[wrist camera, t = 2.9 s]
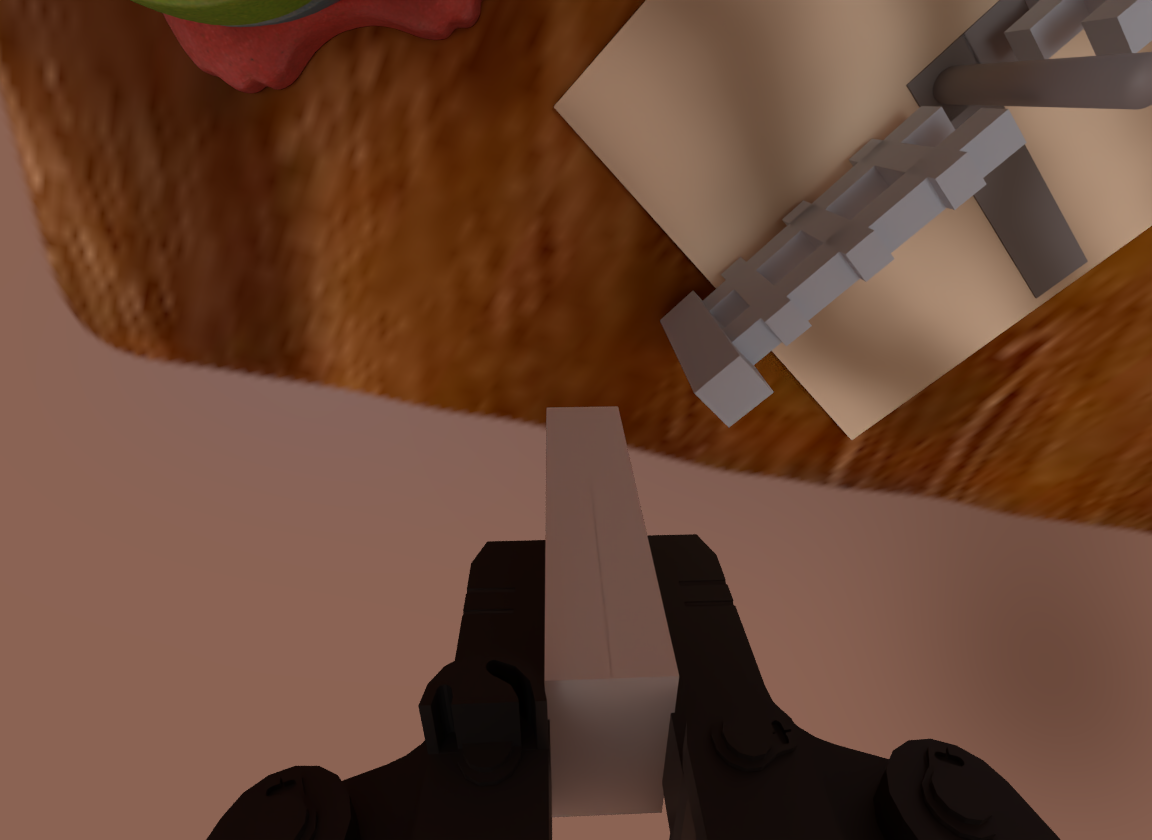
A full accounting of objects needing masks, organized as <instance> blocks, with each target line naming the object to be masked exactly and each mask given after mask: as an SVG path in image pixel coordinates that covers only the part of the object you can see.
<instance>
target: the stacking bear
mask: <svg viewBox="0 0 1152 840" xmlns="http://www.w3.org/2000/svg"><path fill="white" fill-rule="evenodd" d="M131 1H133V2H135V3H138V4H140V5H143V6H146V7H148V8H151V9H153V10H156V11H158V12H161V13H163V15H164V17H165V19H166V21H167V22H168V24H169V26H170V28H171V29H172V31H173V33H174V34H175V36H176V38H177V39H178V41H179V43H180V44H181V46H182V48H183V49H184V51H185V52H186V53H187V54H188V56H189V57H190V58H191V59H192V61H193V62H194V63H195V64H196V65H197V66H198V67H199V68H200V69H201V70H202V71H204V72H206V73H208V74H210V75H214V76H218V77H220V78H221V79H222V80H224V81H225V82H226V83H227V84H229V85H230V86H232V87H233V88H235V89H237V90H238V91H242V92H245V93H256V92H259V91H261V90H262V89H264V88H265V87H267V86H268V87H271V88H273V89H283V88H286V87H287V86H289V85H291V84H292V83H293V82H294V81H295V80H296V79H297V78H298V77H299V75H300V73H301V72H302V70H303V69H304V67H305V66H306V64H307V63H308V61H309V60H310V59H311V57H312V56H313V54H314V53H315V52H316V51H317V50H318V49H319V48H320V47H321V46H322V45H323V44H324V43H325V42H327V41H328V40H330V39H331V38H332V37H334V36H336V35H337V34H340V33H342V32H344V31H347V30H351V29H354V28H359V27H365V26H385V27H390V28H395V29H398V30H401V31H404V32H407V33H409V34H412V35H414V36H417V37H421V38H425V39H431V40H441V39H446V38H447V37H448V36H450V35H451V33H452V32H453V31H454V30H455V29H457V28H469V27H471V26H473V25H474V24H475V23H476V21H477V19H478V18H479V15H480V11H481V2H482V0H131Z"/></svg>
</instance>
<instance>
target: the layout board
mask: <svg viewBox="0 0 1152 840" xmlns="http://www.w3.org/2000/svg"><path fill="white" fill-rule="evenodd" d="M1027 11H1029V8H1028V6H1027V4H1026V2H1025V0H646V1H645V2H644V3H643V4H642V5H641V6H640V8H639V9H638V10H637V11H636V12H635V13H634V14H633V16H632V17H631V18H630V19H629V20H628V21H627V23H626V24H625V25H624V26H623V27H622V28H621V29H620V31H619V32H618V33H617V34H616V35H615V36H614V37H613V39H612V40H611V41H610V42H609V43H608V44H607V46H606V47H605V48H604V49H603V50H602V51H601V52H600V54H599V55H598V56H597V57H596V58H595V59H594V61H593V62H592V63H591V64H590V65H589V66H588V67H587V69H586V70H585V71H584V72H583V73H582V74H581V75H580V77H579V78H578V79H577V80H576V81H575V82H574V84H573V85H572V86H571V87H570V88H569V89H568V90H567V92H566V93H565V94H564V95H563V96H562V97H561V99H560V100H559V101H558V102H557V103H556V104H555V105H554V108H555V109H556V110H557V111H558V113H559V114H560V115H561V116H562V117H563V118H564V119H565V120H566V121H567V123H568V124H569V125H570V126H571V127H572V128H573V129H574V130H575V132H576V133H577V134H578V135H579V136H580V137H581V138H582V139H583V140H584V142H585V143H586V144H587V145H588V146H589V147H590V148H591V149H592V151H593V152H594V153H595V154H596V155H597V156H598V157H599V158H600V159H601V161H602V162H603V163H604V164H605V165H606V166H607V167H608V168H609V170H610V171H611V172H612V173H613V174H614V175H615V176H616V177H617V179H618V180H619V181H620V182H621V183H622V184H623V185H624V186H625V187H626V189H627V190H628V191H629V192H630V193H631V194H632V195H633V196H634V198H635V199H636V200H637V201H638V202H639V203H640V204H641V205H642V206H643V208H644V209H645V210H646V211H647V212H648V213H649V214H650V215H651V217H652V218H653V219H654V220H655V221H656V222H657V223H658V224H659V225H660V227H661V228H662V229H663V230H664V231H665V232H666V233H667V234H668V236H669V237H670V238H671V239H672V240H673V241H674V242H675V243H676V244H677V246H678V247H679V248H680V249H681V250H682V251H683V252H684V253H685V255H686V256H687V257H688V258H689V259H690V260H691V261H692V262H693V263H694V265H695V266H696V267H697V268H698V269H699V270H700V271H701V272H702V274H703V275H704V276H705V277H706V278H707V279H708V280H709V281H710V282H711V284H712V285H713V286H714V287H715V288H716V289H717V288H718V287H719V286H720V285H721V284H722V283H723V282H724V281H725V279H724V278H723V277H722V275H721V274H722V273H723V272H724V271H725V270H726V269H728V268H729V267H730V266H731V265H732V264H733V263H734V262H735V261H736V260H738V259H739V258H740V257H741V258H743V259H744V260H745V261H746V262H747V261H748V260H749V259H750V258H751V257H752V256H754V255H755V254H756V253H757V252H758V251H759V250H760V249H761V248H763V247H764V246H765V245H766V244H767V243H768V242H769V241H770V240H772V239H773V238H774V237H775V236H776V235H777V234H778V233H779V232H780V231H782V230H783V229H784V228H785V227H786V226H787V225H786V224H785V223H784V222H783V220H782V219H783V218H784V217H785V216H787V215H788V214H789V213H790V212H791V211H792V210H793V209H794V208H795V207H797V206H798V205H799V204H800V203H801V202H802V201H803V200H804V201H806V202H809V203H811V204H812V203H813V202H814V201H815V200H816V199H818V198H819V197H820V196H821V195H822V194H823V193H824V192H825V191H826V190H828V189H829V188H830V187H831V186H832V185H833V184H834V183H835V182H837V181H838V180H839V179H840V178H841V177H842V176H843V175H844V174H846V173H847V172H848V171H849V170H850V169H851V168H852V167H853V165H852V164H851V163H850V161H849V159H850V158H851V157H852V156H853V155H854V154H856V153H857V152H858V151H859V150H860V149H861V148H862V147H863V146H864V145H866V144H867V143H868V142H869V141H870V140H871V139H879V140H884V139H885V138H886V137H887V136H888V135H889V134H890V133H892V132H893V131H894V130H895V129H896V128H897V127H898V126H899V125H901V124H902V123H903V122H904V121H905V120H906V119H907V118H908V117H910V116H911V115H912V114H913V113H914V112H915V111H916V110H917V109H919V108H920V107H921V106H936V107H942V108H943V110H944V112H945V113H946V115H947V117H948V118H949V120H950V122H951V123H952V125H953V127H954V129H955V130H956V129H957V128H958V127H959V126H961V125H962V124H963V123H964V122H965V121H966V120H968V119H969V118H970V117H971V116H972V115H973V114H975V113H976V112H977V111H978V110H979V109H980V108H996V109H1009V111H1010V113H1011V114H1012V116H1013V118H1014V120H1015V122H1016V124H1017V126H1018V127H1019V129H1020V131H1021V133H1022V135H1023V137H1024V139H1025V140H1026V142H1027V143H1026V144H1024V145H1023V146H1022V147H1021V148H1019V149H1018V150H1017V151H1016V152H1015V153H1013V154H1012V155H1011V156H1010V157H1008V158H1007V159H1006V160H1005V161H1003V162H1002V163H1001V164H1000V165H999V166H997V167H996V168H995V169H994V170H992V171H991V172H990V173H989V174H988V175H986V176H985V177H984V178H983V179H984V181H985V182H986V185H985V186H984V187H983V188H981V189H980V190H979V191H978V192H977V193H975V194H974V195H973V196H972V197H970V198H969V199H968V200H967V201H965V202H964V203H963V204H962V205H960V206H959V207H958V208H957V209H956V210H953V209H949V208H946V209H945V210H943V211H942V212H941V213H940V214H938V215H937V216H936V217H935V218H934V219H932V220H931V221H930V222H929V223H927V224H926V225H925V226H924V227H923V228H921V229H920V230H919V231H918V232H916V233H915V234H914V235H913V236H912V237H910V238H909V239H908V240H907V241H905V242H904V243H903V244H902V245H900V246H899V247H898V248H897V249H896V250H894V251H893V252H892V253H891V255H892V256H893V257H894V260H893V261H891V262H890V263H889V264H888V265H886V266H885V267H884V268H883V269H881V270H880V271H879V272H878V273H877V274H875V275H874V276H873V277H872V278H870V279H869V280H868V281H867V282H865V281H864V280H862V279H859V280H858V281H856V282H855V283H854V284H853V285H851V286H850V287H849V288H848V289H847V290H845V291H844V292H843V293H842V294H840V295H839V296H838V297H837V298H835V299H834V300H833V301H832V302H831V303H829V304H828V305H827V306H826V307H824V308H823V309H822V310H821V311H820V312H818V313H817V314H816V315H815V316H813V317H812V318H811V319H810V320H809V323H810V324H811V325H812V326H811V327H810V328H809V329H807V330H806V331H805V332H804V333H802V334H801V335H800V336H799V337H798V338H796V339H795V340H794V341H793V342H791V343H790V344H789V345H788V346H785V344H784V343H783V342H782V343H780V344H779V345H778V346H777V347H775V348H774V349H773V350H772V352H773V353H774V354H775V355H776V356H777V357H778V358H779V360H780V361H781V362H782V363H783V364H784V365H785V366H786V367H787V369H788V370H789V371H790V372H791V373H792V374H793V375H794V376H795V377H796V379H797V380H798V381H799V382H800V383H801V384H802V385H803V386H804V388H805V389H806V390H807V391H808V392H809V393H810V394H811V395H812V397H813V398H814V399H815V400H816V401H817V402H818V403H819V404H820V405H821V407H822V408H823V409H824V410H825V411H826V412H827V413H828V414H829V416H830V417H831V418H832V419H833V420H834V421H835V422H836V423H837V424H838V426H839V427H840V428H841V429H842V430H843V431H844V432H845V433H846V435H847V436H848V437H849V438H850V439H851V440H853V439H854V438H856V437H857V436H858V435H860V434H861V433H863V432H864V431H865V430H867V429H868V428H870V427H871V426H872V425H874V424H875V423H877V422H878V421H879V420H881V419H882V418H884V417H885V416H886V415H888V414H889V413H891V412H892V411H893V410H895V409H896V408H898V407H899V406H900V405H902V404H903V403H905V402H906V401H907V400H909V399H910V398H911V397H913V396H914V395H916V394H917V393H918V392H920V391H921V390H923V389H924V388H925V387H927V386H928V385H930V384H931V383H932V382H934V381H935V380H937V379H938V378H939V377H941V376H942V375H944V374H945V373H946V372H948V371H949V370H951V369H952V368H953V367H955V366H956V365H958V364H959V363H960V362H962V361H963V360H965V359H966V358H967V357H969V356H970V355H972V354H973V353H974V352H976V351H977V350H979V349H980V348H981V347H983V346H984V345H986V344H987V343H988V342H990V341H991V340H993V339H994V338H995V337H997V336H998V335H1000V334H1001V333H1002V332H1004V331H1005V330H1007V329H1008V328H1009V327H1011V326H1012V325H1014V324H1015V323H1016V322H1018V321H1019V320H1020V319H1022V318H1023V317H1025V316H1026V315H1027V314H1029V313H1030V312H1032V311H1033V310H1034V309H1036V308H1037V307H1039V306H1040V305H1041V304H1043V303H1044V302H1046V301H1047V300H1048V299H1050V298H1051V297H1053V296H1054V295H1055V294H1057V293H1058V292H1060V291H1061V290H1062V289H1064V288H1065V287H1067V286H1068V285H1069V284H1071V283H1072V282H1074V281H1075V280H1076V279H1078V278H1079V277H1081V276H1082V275H1083V274H1085V273H1086V272H1088V271H1089V270H1090V269H1092V268H1093V267H1095V266H1096V265H1097V264H1099V263H1100V262H1102V261H1103V260H1104V259H1106V258H1107V257H1109V256H1110V255H1111V254H1113V253H1114V252H1116V251H1117V250H1118V249H1120V248H1121V247H1123V246H1124V245H1125V244H1127V243H1128V242H1129V241H1131V240H1132V239H1134V238H1135V237H1136V236H1138V235H1139V234H1141V233H1142V232H1143V231H1145V230H1146V229H1148V228H1149V227H1150V226H1152V105H1150V106H1148V107H1146V108H1143V109H1137V110H1133V109H1096V108H1059V107H1022V106H986V105H949V104H940V103H939V102H937V101H936V99H935V98H934V95H933V87H934V83H935V81H936V79H937V77H938V76H939V74H940V73H941V72H942V71H943V70H945V69H946V68H948V67H950V66H956V65H971V64H985V63H999V62H1014V61H1018V60H1017V58H1016V56H1015V54H1014V52H1013V50H1012V48H1011V46H1010V44H1009V42H1008V40H1007V38H1006V36H1005V34H1004V32H1005V31H1006V30H1007V29H1008V28H1009V27H1011V26H1012V25H1013V24H1014V23H1015V22H1016V21H1017V20H1018V19H1020V18H1021V17H1022V16H1023V15H1024V14H1025V13H1026V12H1027ZM1142 52H1152V41H1151V42H1149V43H1148V44H1147V45H1146V46H1145V47H1143V48H1142V49H1141V50H1140V51H1138V52H1137V53H1142ZM1085 56H1096V54H1095V52H1094V50H1093V48H1092V46H1091V43H1090V41H1089V39H1088V37H1087V34H1086V32H1085V30H1084V29H1083V30H1082V31H1081V32H1079V33H1078V34H1077V35H1076V36H1075V37H1074V38H1072V39H1071V40H1070V41H1069V42H1068V43H1067V44H1065V45H1064V46H1063V47H1062V48H1061V49H1060V50H1058V51H1057V52H1056V53H1055V54H1054V55H1053V56H1051V57H1050V58H1049V59H1056V58H1071V57H1085Z"/></svg>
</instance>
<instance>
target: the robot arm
mask: <svg viewBox="0 0 1152 840" xmlns="http://www.w3.org/2000/svg"><path fill="white" fill-rule="evenodd" d="M463 611H464V612H463V613H464V614H463V616H462V621H461V627H460V633H459V639H458V645H457V651H456V657H455V661H454V662H452V663H450V664H448V665H446V666H445V667H443V669H442V670H441V671H440V672H439V673H438V674H437V675H436V676H435V677H434V678H433V679H432V680H431V681H430V682H429V683H428V685H427V687H426V689H425V692H424V694H423V696H422V699H421V701H420V703H419V711H420V715H421V721H422V726H423V731H424V736H425V741H424V742H423V743H422V744H421V745H419V746H418V747H417V748H415V749H414V750H413V751H411V752H410V753H409V754H407V755H406V756H404V757H402V758H400V759H398V760H396V761H393V762H391V763H389V764H387V765H384V766H382V767H379V768H376V769H373V770H371V771H368V772H365V773H363V774H360V775H357V776H354V777H352V778H349V779H346V780H344V781H341V779H340V778H339V776H338V775H336V774H334V773H332V772H330V771H328V770H326V769H324V768H322V767H320V766H294V767H291V768H288V769H285V770H282V771H280V772H276V773H274V774H271V775H268V776H267V777H265V778H264V779H263V780H261V781H260V782H258V783H257V784H255V785H254V786H253V787H251V788H250V789H248V790H247V791H245V792H244V793H243V794H242V795H241V796H240V797H239V798H238V800H236V802H235V803H234V804H233V805H232V806H231V808H229V810H228V811H227V812H226V813H225V814H224V815H223V816H222V818H221V819H220V820H219V822H218V823H217V825H216V826H215V828H214V829H213V831H212V832H211V834H210V835H209V837H208V838H207V840H552V817H569V816H590V815H591V816H592V815H616V814H639V813H661V812H662V805H663V798H665V804H666V810H667V816H668V822H669V828H670V839H669V840H1060V839H1059V838H1058V836H1057V835H1056V834H1055V833H1054V832H1053V831H1052V830H1051V829H1050V828H1049V826H1047V824H1046V823H1045V822H1044V821H1043V820H1042V819H1041V818H1040V817H1039V816H1038V814H1037V813H1036V812H1035V811H1034V810H1033V809H1032V808H1031V807H1030V806H1029V805H1028V804H1027V802H1026V801H1025V800H1024V799H1023V798H1022V797H1021V796H1020V795H1019V794H1018V793H1017V792H1016V790H1015V789H1014V788H1013V787H1012V786H1011V785H1010V784H1009V783H1008V782H1007V781H1006V780H1005V779H1004V778H1003V777H1002V776H1000V775H999V774H998V773H997V772H995V770H994V769H992V768H991V767H990V766H989V765H988V764H987V763H986V762H984V761H983V760H981V759H980V758H978V757H976V756H974V755H972V754H970V753H969V752H967V751H965V750H963V749H962V748H960V747H958V746H956V745H952V744H948V743H944V742H941V741H937V740H933V739H921V740H909V741H907V742H905V743H904V744H902V745H901V746H899V747H898V748H896V749H895V750H893V752H892V754H891V756H890V759H886V758H882V757H879V756H875V755H871V754H868V753H864V752H860V751H857V750H853V749H849V748H846V747H842V746H839V745H835V744H832V743H830V742H827V741H824V740H821V739H819V738H816V737H814V736H813V735H811V734H809V733H808V732H806V731H804V730H803V729H801V728H799V727H798V726H797V725H796V724H794V722H793V721H792V719H791V718H790V717H789V716H788V715H787V714H786V713H784V712H783V711H782V710H781V709H780V708H779V707H778V706H777V705H776V704H775V703H774V702H773V701H772V699H771V697H770V695H769V693H768V691H767V689H766V687H765V685H764V682H763V679H762V677H761V674H760V671H759V669H758V666H757V663H756V661H755V658H754V655H753V652H752V650H751V647H750V645H749V642H748V639H747V636H746V634H745V631H744V628H743V625H742V623H741V620H740V617H739V615H738V612H737V609H736V607H735V606H734V605H733V598H732V596H731V593H730V590H729V588H728V585H727V584H726V582H725V577H724V574H723V572H722V569H721V566H720V564H719V561H718V558H717V555H716V554H715V553H714V552H713V551H712V550H711V549H710V548H709V547H708V546H707V545H706V544H705V543H704V542H703V541H702V540H701V539H700V538H699V537H698V535H696V534H693V535H653V536H647V532H646V528H645V524H644V519H643V515H642V510H641V506H640V502H639V497H638V493H637V488H636V484H635V480H634V475H633V471H632V467H631V462H630V458H629V453H628V449H627V444H626V440H625V436H624V431H623V427H622V422H621V418H620V414H619V409H618V406H616V407H557V408H547V418H546V540H532V541H495V542H494V541H493V542H487V543H486V544H485V546H484V547H483V548H482V550H481V551H480V552H479V554H478V555H477V556H476V558H475V559H474V560H473V562H472V563H471V568H470V574H469V580H468V587H467V594H466V598H465V604H464V609H463Z"/></svg>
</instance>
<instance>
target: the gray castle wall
mask: <svg viewBox="0 0 1152 840" xmlns="http://www.w3.org/2000/svg"><path fill="white" fill-rule="evenodd" d="M1026 143H1027V142H1026V140H1025V139H1024V137H1023V135H1022V133H1021V131H1020V129H1019V127H1018V126H1017V124H1016V122H1015V120H1014V118H1013V116H1012V114H1011V113H1010V111H1009V109H996V108H980V109H979V110H978V111H977V112H976V113H975V114H973V115H972V116H971V117H970V118H969V119H968V120H966V121H965V122H964V123H963V124H962V125H961V126H959V127H958V128H957V129H956V130H955V129H954V127H953V125H952V123H951V122H950V120H949V118H948V117H947V115H946V113H945V112H944V110H943V108H942V107H936V106H921V107H920V108H919V109H917V110H916V111H915V112H914V113H913V114H912V115H911V116H910V117H908V118H907V119H906V120H905V121H904V122H903V123H902V124H901V125H899V126H898V127H897V128H896V129H895V130H894V131H893V132H892V133H890V134H889V135H888V136H887V137H886V138H885V139H884V140H879V139H871V140H870V141H869V142H868V143H867V144H866V145H864V146H863V147H862V148H861V149H860V150H859V151H858V152H857V153H856V154H854V155H853V156H852V157H851V158H850V159H849V161H850V163H851V164H852V165H853V167H852V168H851V169H850V170H849V171H848V172H847V173H846V174H844V175H843V176H842V177H841V178H840V179H839V180H838V181H837V182H835V183H834V184H833V185H832V186H831V187H830V188H829V189H828V190H826V191H825V192H824V193H823V194H822V195H821V196H820V197H819V198H818V199H816V200H815V201H814V202H813V203H812V204H811V203H809V202H806V201H804V200H803V201H802V202H801V203H800V204H799V205H798V206H797V207H795V208H794V209H793V210H792V211H791V212H790V213H789V214H788V215H787V216H785V217H784V218H783V219H782V220H783V222H784V223H785V224H786V225H787V226H786V227H785V228H784V229H783V230H782V231H780V232H779V233H778V234H777V235H776V236H775V237H774V238H773V239H772V240H770V241H769V242H768V243H767V244H766V245H765V246H764V247H763V248H761V249H760V250H759V251H758V252H757V253H756V254H755V255H754V256H752V257H751V258H750V259H749V260H748V261H747V262H746V261H745V260H744V259H743V258H741V257H740V258H739V259H738V260H736V261H735V262H734V263H733V264H732V265H731V266H730V267H729V268H728V269H726V270H725V271H724V272H723V273H722V274H721V275H722V277H723V278H724V279H725V281H724V282H723V283H722V284H721V285H720V286H719V287H718V288H717V289H715V290H714V291H713V292H712V293H711V294H710V295H709V296H708V297H706V298H705V299H704V300H703V301H702V299H701V298H700V297H699V296H698V295H697V294H696V293H695V292H694V291H692V292H691V293H690V294H688V295H687V296H686V297H685V298H684V299H683V300H682V301H681V302H680V303H678V304H677V305H676V306H675V307H674V308H673V309H672V310H671V311H670V312H669V313H667V314H666V315H665V316H664V317H663V318H662V319H661V320H660V322H661V324H662V326H663V328H664V330H665V332H666V335H667V337H668V339H669V341H670V343H671V345H672V347H673V349H674V351H675V354H676V356H677V358H678V360H679V362H680V364H681V366H682V368H683V370H684V373H685V375H686V377H687V379H688V381H689V383H690V385H691V387H692V389H693V392H694V393H695V394H696V395H697V396H698V397H699V398H700V399H701V400H702V401H703V402H704V403H705V404H706V405H707V406H708V407H709V408H710V409H711V410H712V411H713V412H714V413H715V414H716V415H717V416H718V417H719V418H720V419H721V420H722V421H723V422H724V423H725V424H726V425H727V426H728V427H730V426H731V425H733V424H734V423H735V422H737V421H738V420H739V419H740V418H742V417H743V416H744V415H745V414H747V413H748V412H749V411H751V410H752V409H753V408H754V407H756V406H757V405H758V404H759V403H761V402H762V401H763V400H765V399H766V398H767V397H768V396H770V395H771V394H772V393H773V390H772V389H771V388H770V386H769V385H768V384H767V382H766V381H765V380H764V378H763V377H762V376H761V374H760V373H759V371H758V370H757V369H756V367H755V366H754V365H755V364H756V363H757V362H758V361H759V360H761V359H762V358H763V357H764V356H766V355H767V354H768V353H769V352H770V351H772V350H773V349H774V348H775V347H777V346H778V345H779V344H780V343H782V342H783V343H784V344H785V346H788V345H789V344H790V343H791V342H793V341H794V340H795V339H796V338H798V337H799V336H800V335H801V334H802V333H804V332H805V331H806V330H807V329H809V328H810V327H811V326H812V325H811V324H810V323H809V320H810V319H811V318H812V317H813V316H815V315H816V314H817V313H818V312H820V311H821V310H822V309H823V308H824V307H826V306H827V305H828V304H829V303H831V302H832V301H833V300H834V299H835V298H837V297H838V296H839V295H840V294H842V293H843V292H844V291H845V290H847V289H848V288H849V287H850V286H851V285H853V284H854V283H855V282H856V281H858V280H859V279H862V280H864V281H865V282H867V281H868V280H869V279H870V278H872V277H873V276H874V275H875V274H877V273H878V272H879V271H880V270H881V269H883V268H884V267H885V266H886V265H888V264H889V263H890V262H891V261H893V260H894V257H893V256H892V255H891V253H892V252H893V251H894V250H896V249H897V248H898V247H899V246H900V245H902V244H903V243H904V242H905V241H907V240H908V239H909V238H910V237H912V236H913V235H914V234H915V233H916V232H918V231H919V230H920V229H921V228H923V227H924V226H925V225H926V224H927V223H929V222H930V221H931V220H932V219H934V218H935V217H936V216H937V215H938V214H940V213H941V212H942V211H943V210H945V209H946V208H949V209H953V210H956V209H957V208H958V207H959V206H960V205H962V204H963V203H964V202H965V201H967V200H968V199H969V198H970V197H972V196H973V195H974V194H975V193H977V192H978V191H979V190H980V189H981V188H983V187H984V186H985V185H986V182H985V181H984V179H983V178H984V177H985V176H986V175H988V174H989V173H990V172H991V171H992V170H994V169H995V168H996V167H997V166H999V165H1000V164H1001V163H1002V162H1003V161H1005V160H1006V159H1007V158H1008V157H1010V156H1011V155H1012V154H1013V153H1015V152H1016V151H1017V150H1018V149H1019V148H1021V147H1022V146H1023V145H1024V144H1026Z"/></svg>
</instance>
